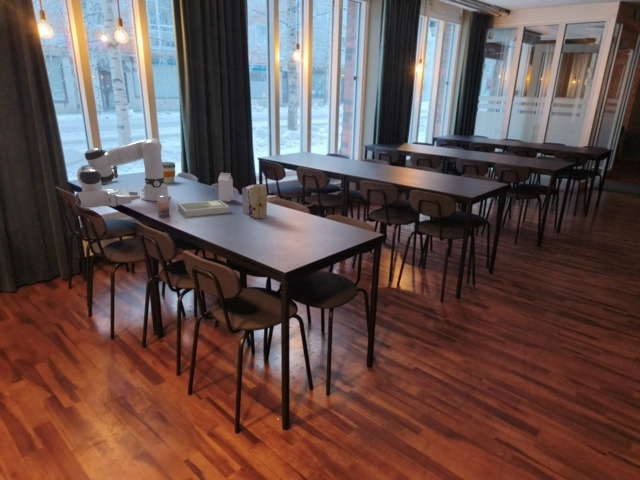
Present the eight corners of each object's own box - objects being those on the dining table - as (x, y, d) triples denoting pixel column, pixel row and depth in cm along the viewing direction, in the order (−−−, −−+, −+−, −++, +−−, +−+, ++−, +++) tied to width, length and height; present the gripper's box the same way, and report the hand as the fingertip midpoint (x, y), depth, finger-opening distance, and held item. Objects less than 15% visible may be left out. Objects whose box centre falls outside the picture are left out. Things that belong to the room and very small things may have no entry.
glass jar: (157, 215, 245) (155, 195, 241) (168, 214, 247) (166, 194, 244) (159, 218, 240) (157, 197, 236) (170, 217, 243) (169, 196, 239)
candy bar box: (251, 210, 263) (250, 184, 258) (258, 211, 261) (258, 185, 256) (242, 214, 253) (241, 187, 248) (249, 216, 251) (249, 188, 246)
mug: (89, 182, 324) (86, 162, 319) (115, 179, 337) (113, 160, 332) (95, 185, 315) (93, 165, 310) (122, 182, 328) (120, 162, 323)
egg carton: (208, 208, 260) (207, 201, 259) (217, 207, 263) (217, 201, 262) (212, 212, 252) (212, 205, 251) (222, 211, 255) (222, 204, 254)
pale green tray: (178, 211, 256) (177, 203, 254) (220, 207, 268) (220, 200, 267) (185, 218, 241) (185, 211, 240) (229, 214, 254) (229, 206, 252)
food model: (262, 215, 253) (262, 182, 247) (269, 218, 249) (269, 184, 242) (249, 218, 247) (248, 184, 240) (256, 220, 242) (255, 186, 236)
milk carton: (229, 203, 279) (228, 174, 273) (218, 202, 280) (217, 173, 274) (233, 200, 285) (232, 172, 279) (223, 199, 287) (222, 171, 281)
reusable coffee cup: (161, 180, 339) (160, 162, 334) (178, 181, 340) (176, 162, 336) (157, 183, 327) (156, 164, 322) (174, 184, 329) (173, 164, 324)
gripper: (110, 198, 236) (136, 196, 242) (113, 207, 219) (142, 204, 225) (108, 187, 234) (135, 185, 240) (111, 195, 217) (140, 193, 223)
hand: (138, 195), depth 233 cm, fingers open, 8 cm apart
